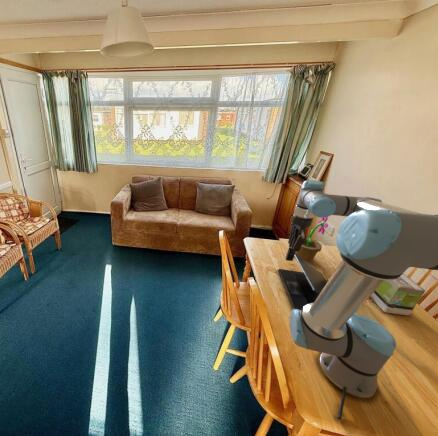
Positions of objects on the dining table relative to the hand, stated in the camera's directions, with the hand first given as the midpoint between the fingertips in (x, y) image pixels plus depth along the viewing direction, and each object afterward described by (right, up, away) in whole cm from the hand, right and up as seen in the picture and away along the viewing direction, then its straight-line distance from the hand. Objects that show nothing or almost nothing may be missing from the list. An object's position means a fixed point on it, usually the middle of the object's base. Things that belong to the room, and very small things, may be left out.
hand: (288, 259), depth 110 cm
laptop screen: (+14, -11, +1) cm, 18 cm away
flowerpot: (+29, -4, +33) cm, 44 cm away
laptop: (+13, -18, +5) cm, 22 cm away
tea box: (+45, -20, -1) cm, 50 cm away
